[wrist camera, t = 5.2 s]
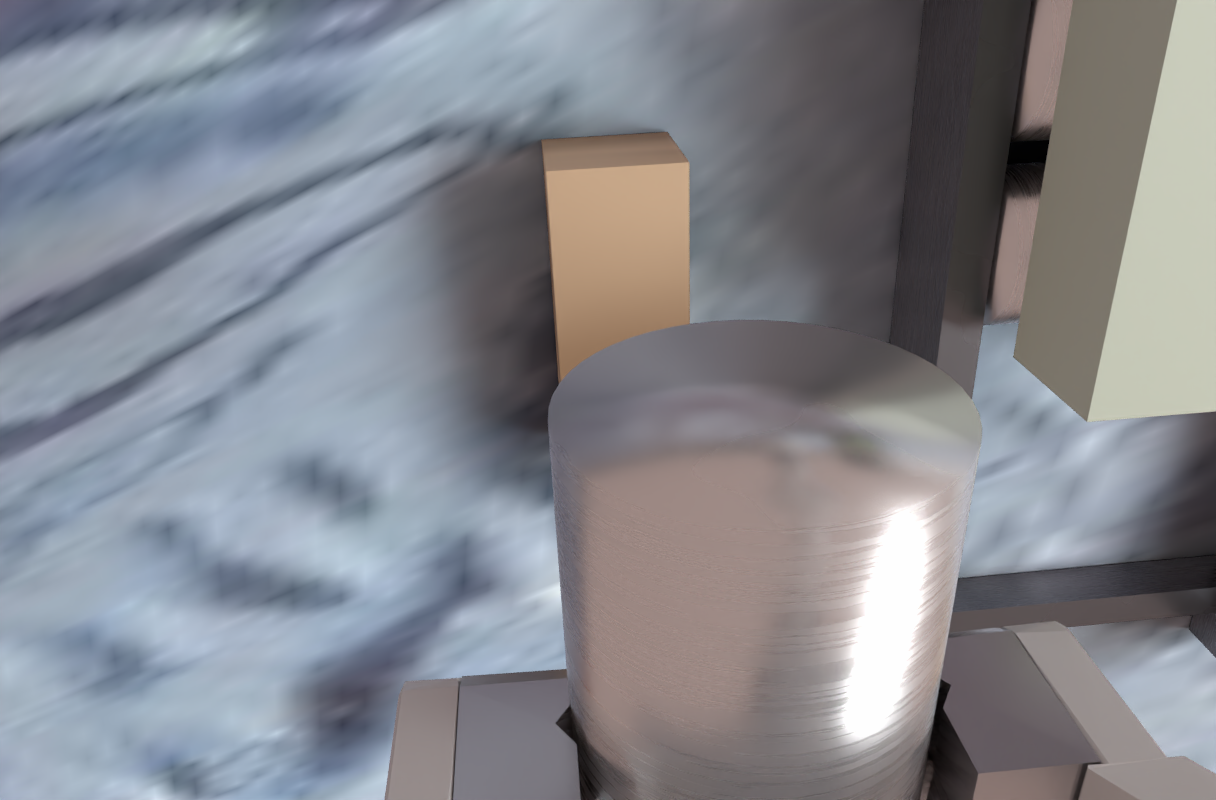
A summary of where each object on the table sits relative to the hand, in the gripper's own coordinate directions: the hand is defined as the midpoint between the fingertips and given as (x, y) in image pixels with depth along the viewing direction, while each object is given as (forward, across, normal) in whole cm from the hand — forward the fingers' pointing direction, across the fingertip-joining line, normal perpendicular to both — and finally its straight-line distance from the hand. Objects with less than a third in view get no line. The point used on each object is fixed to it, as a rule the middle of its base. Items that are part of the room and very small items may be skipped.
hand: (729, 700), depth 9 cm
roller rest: (+12, 0, +1) cm, 12 cm away
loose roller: (-1, 0, 0) cm, 1 cm away
